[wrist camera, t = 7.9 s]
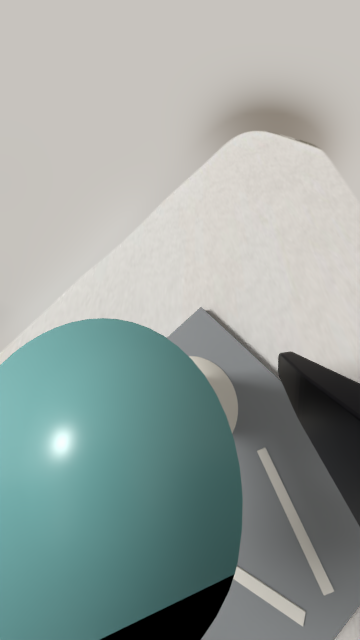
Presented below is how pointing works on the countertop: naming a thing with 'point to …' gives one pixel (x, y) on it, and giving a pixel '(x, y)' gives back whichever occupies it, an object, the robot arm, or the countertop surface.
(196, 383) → the marker
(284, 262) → the countertop surface
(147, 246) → the countertop surface
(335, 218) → the countertop surface
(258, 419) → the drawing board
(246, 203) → the countertop surface
